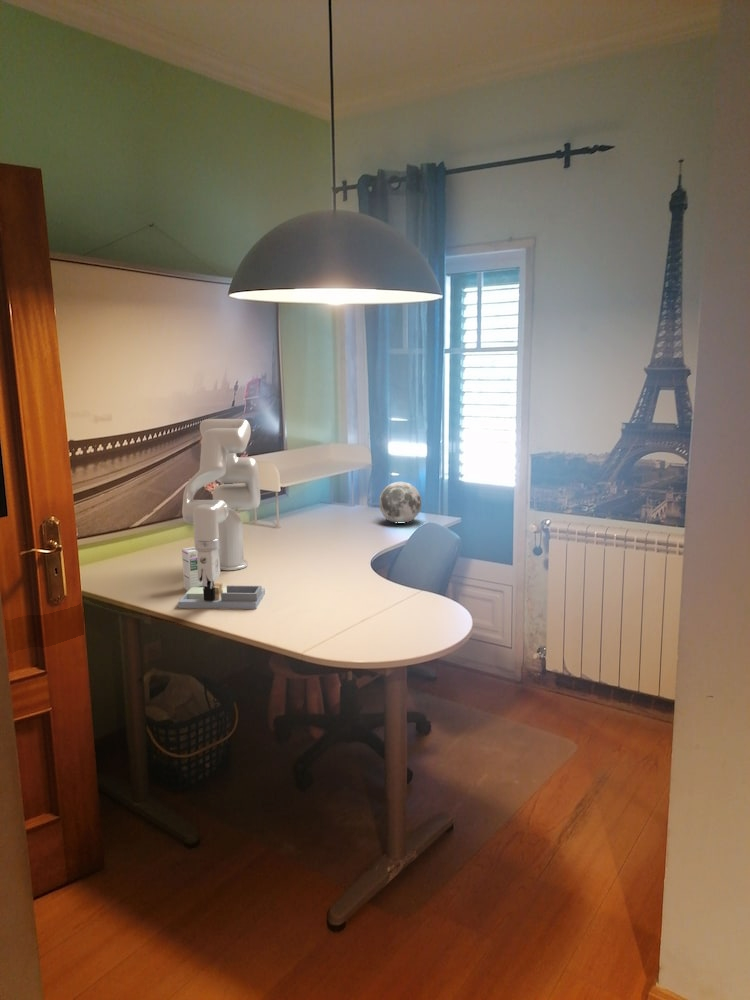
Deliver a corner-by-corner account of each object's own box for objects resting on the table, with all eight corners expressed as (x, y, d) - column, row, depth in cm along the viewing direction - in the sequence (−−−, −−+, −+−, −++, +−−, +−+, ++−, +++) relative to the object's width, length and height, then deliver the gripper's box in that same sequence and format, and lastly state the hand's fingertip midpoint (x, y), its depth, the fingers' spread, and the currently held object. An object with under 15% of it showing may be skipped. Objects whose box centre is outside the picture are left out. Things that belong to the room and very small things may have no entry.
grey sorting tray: (191, 592, 248) (191, 580, 248) (264, 593, 247) (264, 580, 247) (178, 607, 234) (177, 594, 233) (256, 608, 233) (255, 595, 232)
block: (207, 594, 241) (207, 582, 240) (222, 594, 240) (222, 582, 240) (203, 599, 236) (203, 587, 235) (219, 599, 236) (218, 587, 235)
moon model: (377, 518, 359) (377, 478, 355) (418, 518, 360) (418, 478, 356) (380, 528, 339) (380, 485, 335) (423, 527, 340) (424, 485, 336)
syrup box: (190, 592, 248) (188, 551, 246) (183, 588, 253) (181, 547, 250) (206, 589, 252) (204, 548, 249) (199, 585, 256) (197, 545, 254)
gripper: (212, 550, 222) (215, 608, 226) (224, 538, 237) (226, 592, 240) (188, 550, 222) (191, 607, 226) (201, 538, 237) (204, 592, 241)
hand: (209, 599), depth 233 cm, fingers closed
